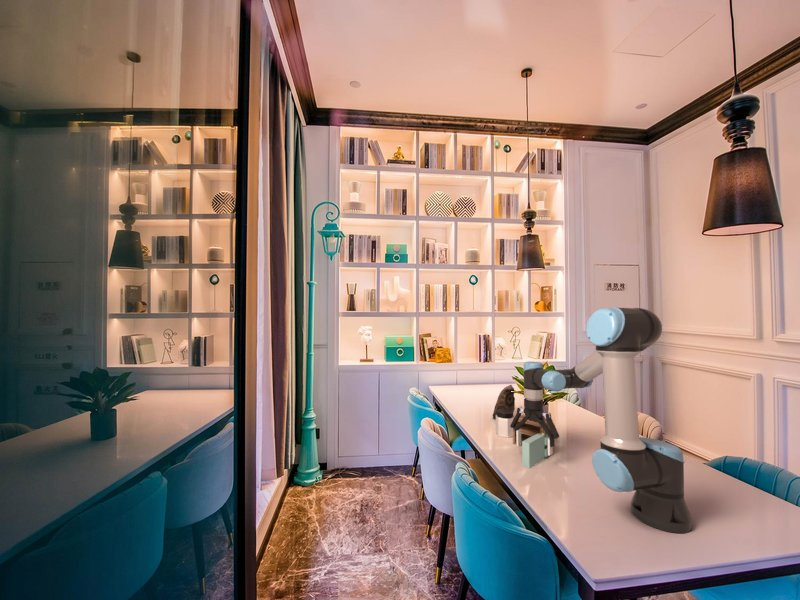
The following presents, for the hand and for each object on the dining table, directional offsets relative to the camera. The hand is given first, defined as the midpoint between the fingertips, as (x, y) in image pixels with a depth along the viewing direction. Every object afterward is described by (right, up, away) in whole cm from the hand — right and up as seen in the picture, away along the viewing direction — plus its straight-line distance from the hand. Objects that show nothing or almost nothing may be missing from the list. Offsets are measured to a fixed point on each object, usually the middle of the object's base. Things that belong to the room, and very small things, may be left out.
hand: (534, 449), depth 146 cm
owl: (+4, -7, +57) cm, 58 cm away
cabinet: (+6, -6, +19) cm, 21 cm away
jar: (-3, -6, +32) cm, 33 cm away
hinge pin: (+7, -6, +7) cm, 11 cm away
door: (+2, -5, +2) cm, 6 cm away
